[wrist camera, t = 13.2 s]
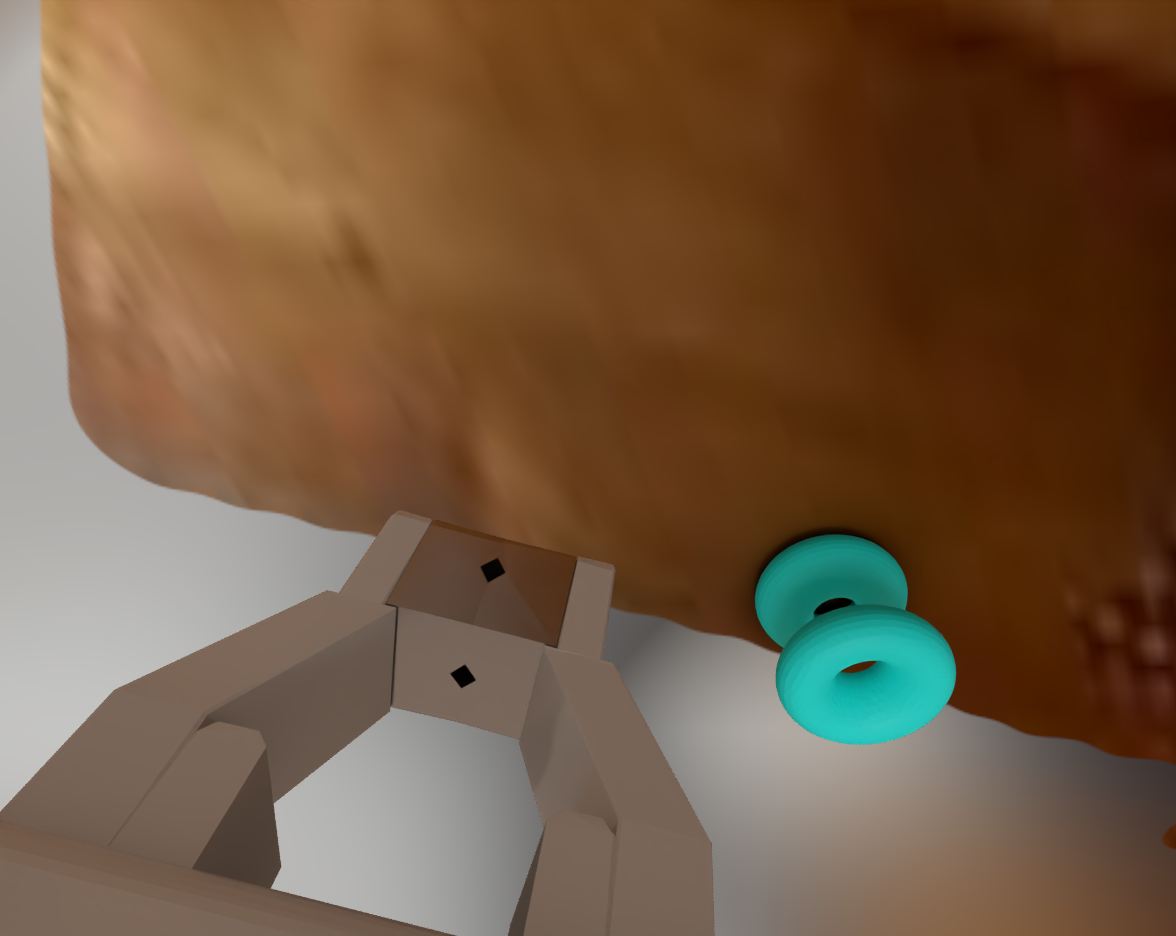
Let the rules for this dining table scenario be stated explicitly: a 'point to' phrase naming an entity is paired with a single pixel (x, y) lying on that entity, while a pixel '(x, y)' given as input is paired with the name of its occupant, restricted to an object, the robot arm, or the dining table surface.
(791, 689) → the donuts
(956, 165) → the dining table surface
